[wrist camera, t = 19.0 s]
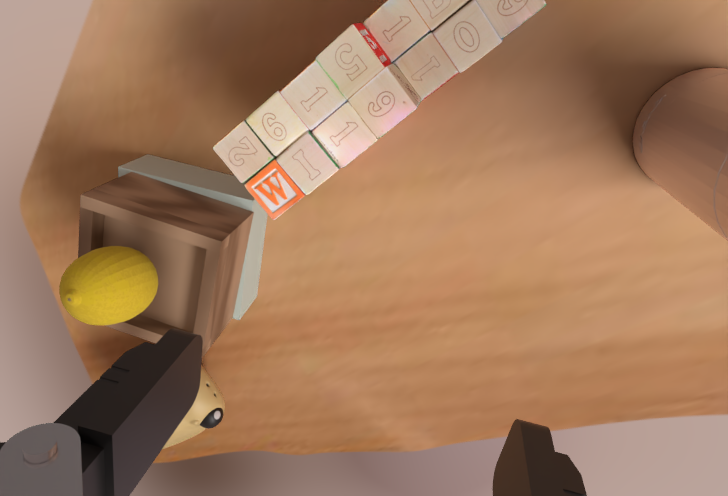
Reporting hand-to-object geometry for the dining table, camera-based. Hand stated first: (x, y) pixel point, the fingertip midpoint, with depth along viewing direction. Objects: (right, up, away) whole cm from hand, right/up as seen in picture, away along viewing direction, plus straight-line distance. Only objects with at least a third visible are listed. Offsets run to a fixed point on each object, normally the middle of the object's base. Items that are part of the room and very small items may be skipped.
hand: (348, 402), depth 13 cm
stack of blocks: (+3, +18, +29) cm, 34 cm away
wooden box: (-16, +4, +33) cm, 36 cm away
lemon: (-17, +2, +28) cm, 33 cm away
